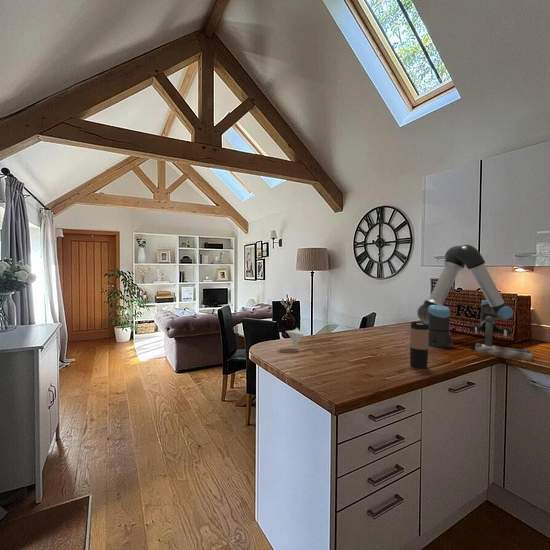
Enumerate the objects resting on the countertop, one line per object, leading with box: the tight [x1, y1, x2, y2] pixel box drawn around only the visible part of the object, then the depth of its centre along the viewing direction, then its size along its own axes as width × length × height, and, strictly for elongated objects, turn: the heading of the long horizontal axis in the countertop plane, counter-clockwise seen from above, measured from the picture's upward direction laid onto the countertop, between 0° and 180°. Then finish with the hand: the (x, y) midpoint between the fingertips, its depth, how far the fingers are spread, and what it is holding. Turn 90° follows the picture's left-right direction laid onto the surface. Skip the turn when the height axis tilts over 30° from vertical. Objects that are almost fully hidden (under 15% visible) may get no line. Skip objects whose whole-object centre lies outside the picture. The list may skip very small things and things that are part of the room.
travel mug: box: [409, 321, 429, 369], centre depth 144 cm, size 8×8×20 cm
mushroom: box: [285, 327, 305, 350], centre depth 169 cm, size 10×11×12 cm
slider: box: [481, 316, 496, 349], centre depth 169 cm, size 6×5×19 cm
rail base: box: [474, 342, 533, 362], centre depth 166 cm, size 24×12×4 cm, turn 57°
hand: (490, 332), depth 172 cm, fingers open, 13 cm apart
